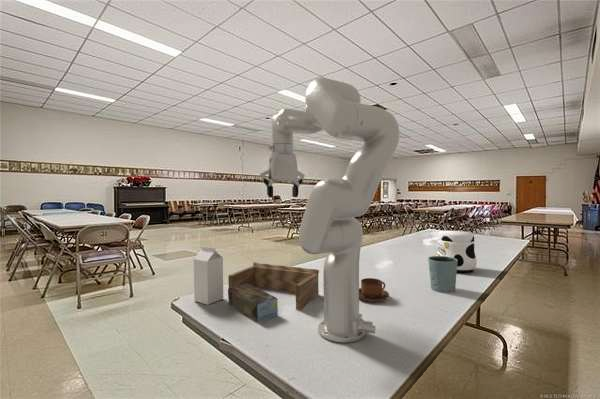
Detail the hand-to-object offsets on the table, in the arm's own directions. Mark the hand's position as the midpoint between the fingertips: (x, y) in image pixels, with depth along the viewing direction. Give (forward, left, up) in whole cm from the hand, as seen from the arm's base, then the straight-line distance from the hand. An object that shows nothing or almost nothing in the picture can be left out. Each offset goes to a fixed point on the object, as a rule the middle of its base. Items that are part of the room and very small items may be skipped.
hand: (283, 197), depth 105 cm
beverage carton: (+4, +15, -37) cm, 40 cm away
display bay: (+4, +1, -36) cm, 36 cm away
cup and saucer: (-29, -12, -37) cm, 48 cm away
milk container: (-58, -67, -37) cm, 96 cm away
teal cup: (-52, -32, -37) cm, 71 cm away
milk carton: (+23, +14, -37) cm, 45 cm away
